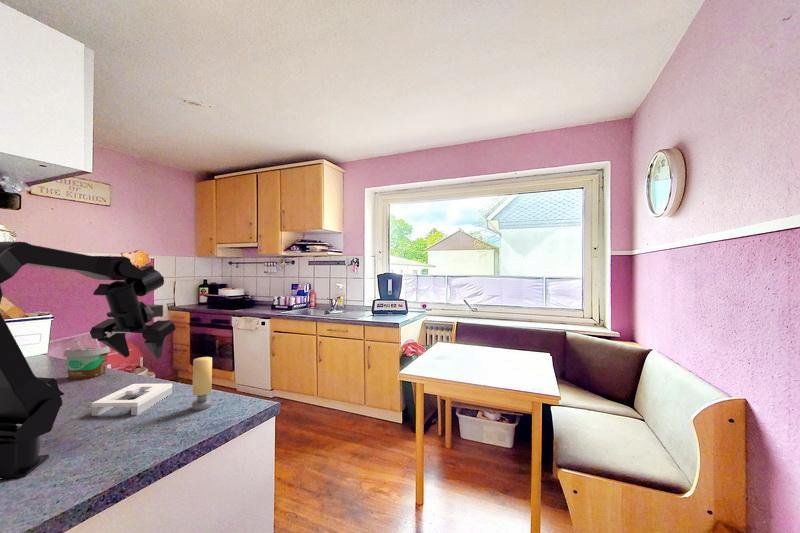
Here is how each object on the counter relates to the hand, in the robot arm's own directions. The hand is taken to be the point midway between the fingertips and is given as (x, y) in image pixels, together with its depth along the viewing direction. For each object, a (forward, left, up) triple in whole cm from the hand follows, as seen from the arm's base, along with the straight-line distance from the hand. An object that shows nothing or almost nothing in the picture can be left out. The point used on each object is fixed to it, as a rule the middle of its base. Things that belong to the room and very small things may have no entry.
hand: (143, 357), depth 86 cm
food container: (+34, +29, -14) cm, 47 cm away
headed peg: (-3, -14, -14) cm, 20 cm away
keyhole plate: (+5, +3, -14) cm, 15 cm away
